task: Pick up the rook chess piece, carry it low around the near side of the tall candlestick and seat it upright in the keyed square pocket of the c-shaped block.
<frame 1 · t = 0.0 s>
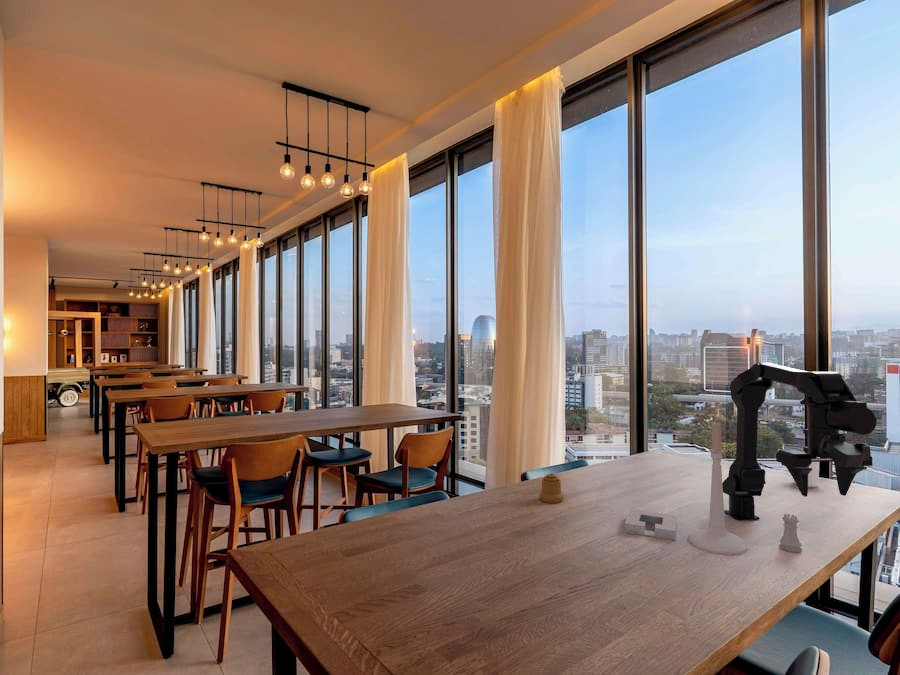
hand: (823, 495, 111), 15 cm above the table, fingers open, 9 cm apart
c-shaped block: (651, 528, 130), on the table
candlestick: (717, 544, 120), on the table
ornamental finial: (551, 500, 153), on the table
rook chess piece: (790, 550, 117), on the table
white cup: (805, 485, 170), on the table
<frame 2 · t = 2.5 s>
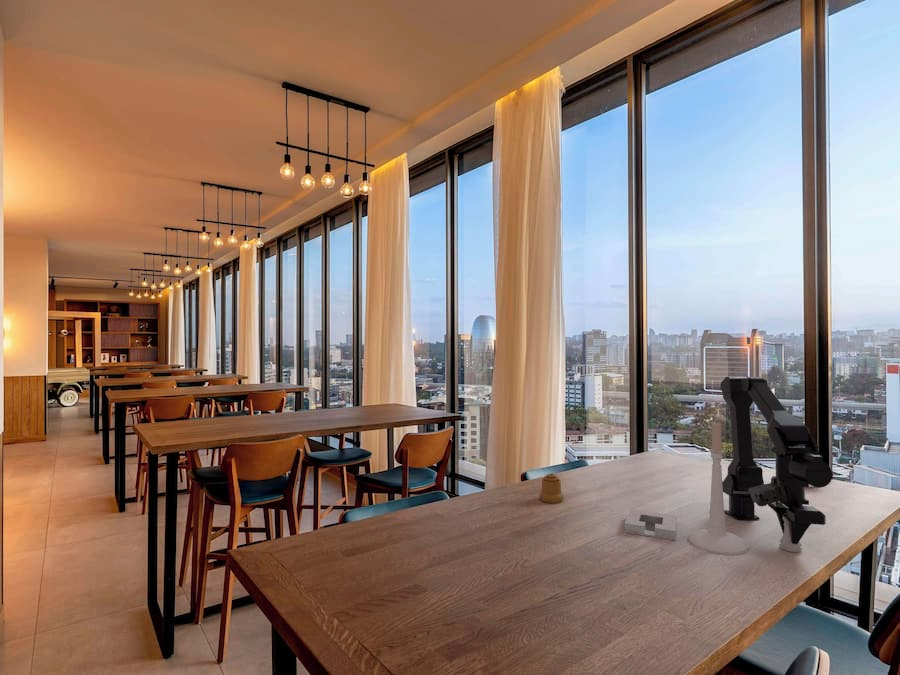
hand: (790, 540, 117), 2 cm above the table, fingers closed on rook chess piece, 3 cm apart
rook chess piece: (790, 549, 117), on the table, touching gripper
everything else where it was.
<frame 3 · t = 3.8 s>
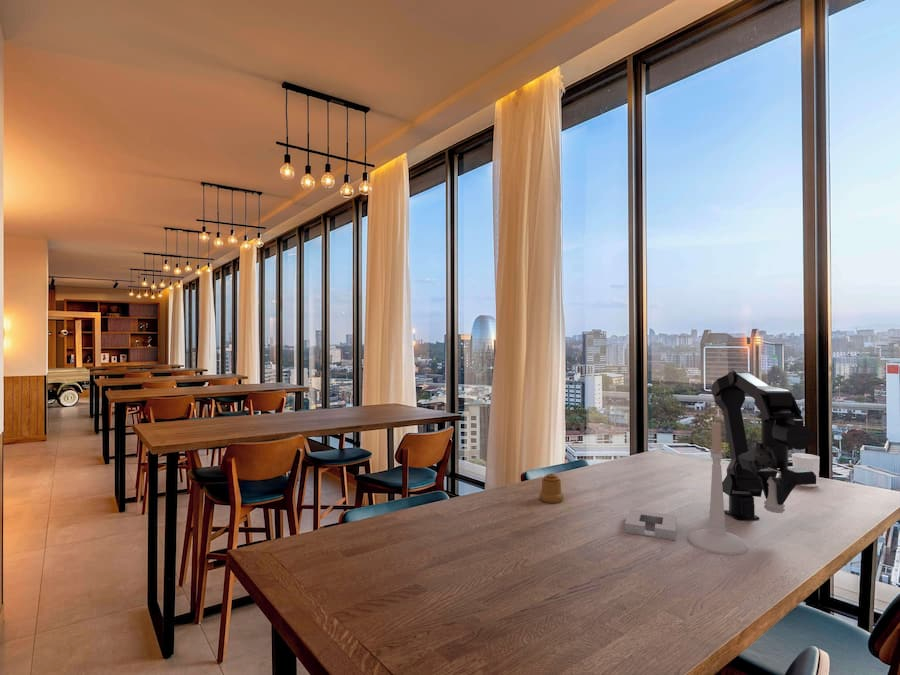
hand: (774, 501, 122), 10 cm above the table, fingers closed on rook chess piece, 3 cm apart
rook chess piece: (774, 510, 122), point 7 cm above the table, touching gripper
everything else where it was.
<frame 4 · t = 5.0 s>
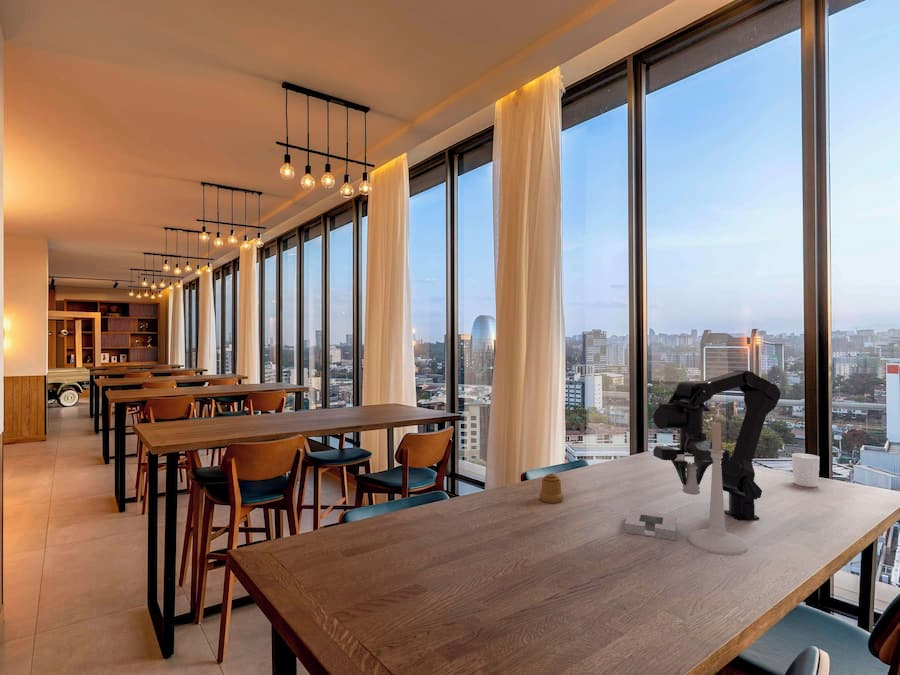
hand: (690, 484, 134), 10 cm above the table, fingers closed on rook chess piece, 3 cm apart
rook chess piece: (691, 493, 134), point 8 cm above the table, touching gripper
everything else where it was.
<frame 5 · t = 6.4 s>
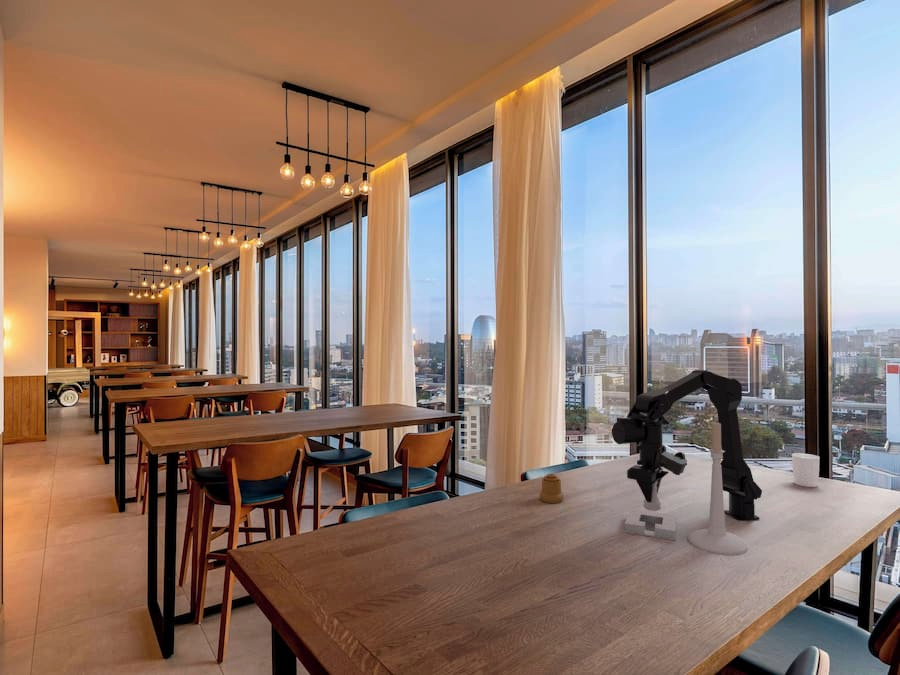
hand: (651, 500, 130), 7 cm above the table, fingers closed on rook chess piece, 3 cm apart
rook chess piece: (652, 508, 130), point 5 cm above the table, touching gripper
everything else where it was.
when the fingers open (3 cm above the table, at t = 7.7 s): rook chess piece stays where it is, resting on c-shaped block.
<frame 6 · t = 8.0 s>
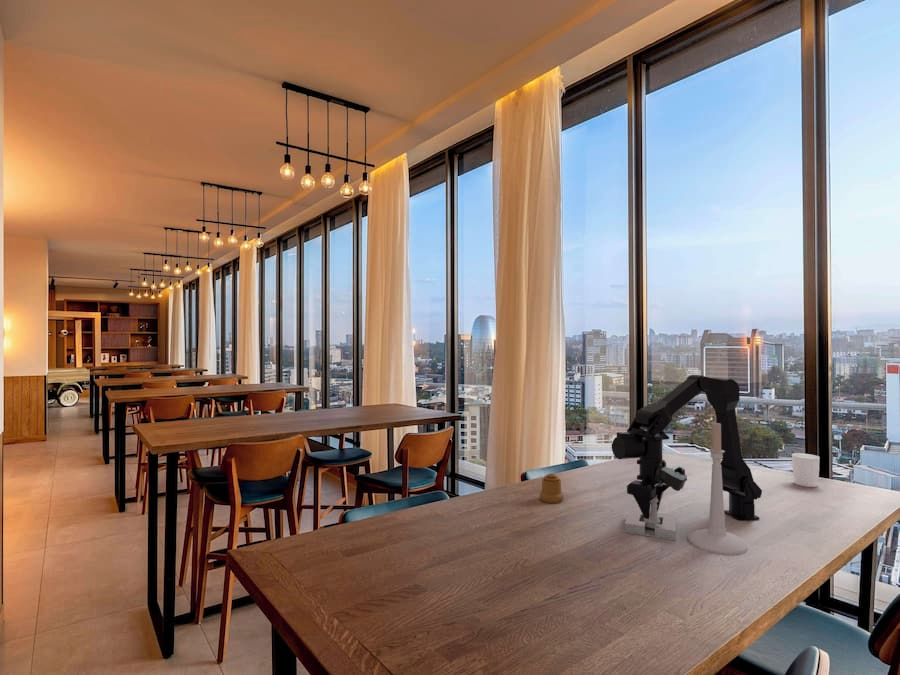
hand: (651, 515, 130), 3 cm above the table, fingers open, 6 cm apart
rook chess piece: (652, 527, 130), resting on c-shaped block
everything else where it was.
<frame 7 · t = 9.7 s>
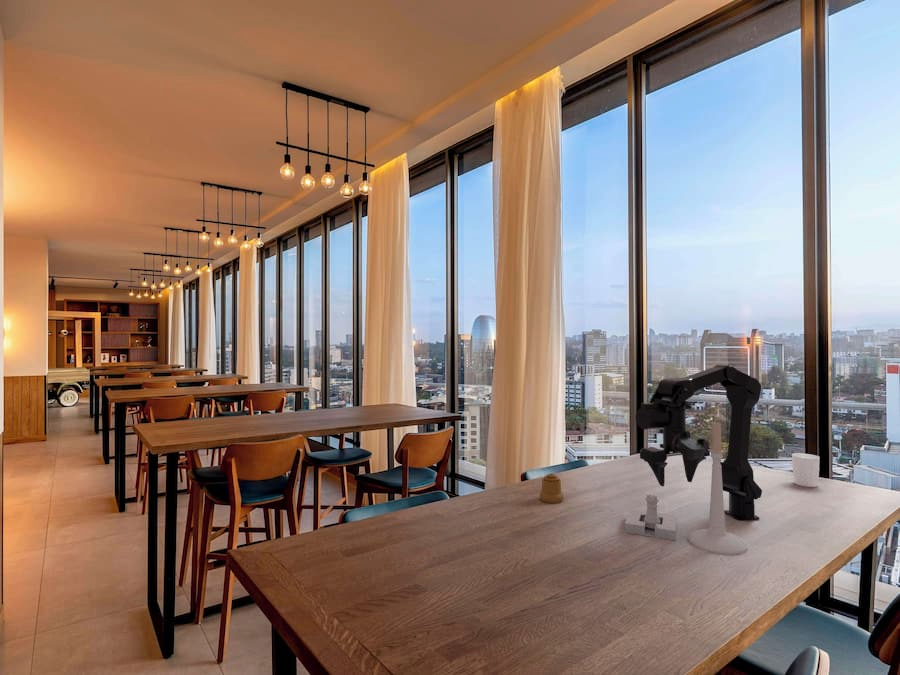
hand: (675, 484, 131), 11 cm above the table, fingers open, 9 cm apart
nothing on the table moved.
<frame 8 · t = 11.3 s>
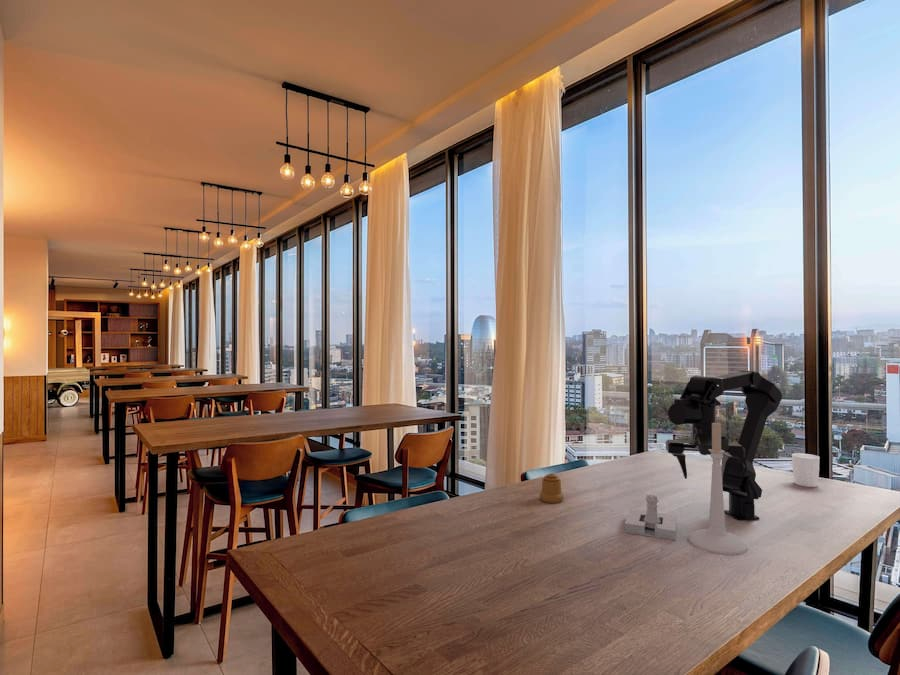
hand: (704, 479, 133), 12 cm above the table, fingers open, 9 cm apart
nothing on the table moved.
at the end: rook chess piece 0.2 cm off-centre on the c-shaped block, point 0.3 cm above the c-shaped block's base; rook chess piece tilted 0°; the gripper is holding nothing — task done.
